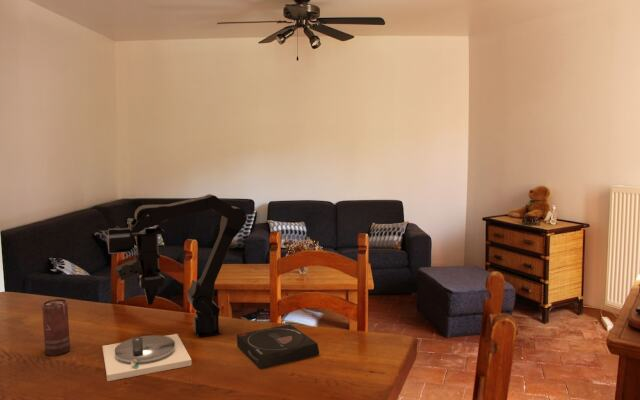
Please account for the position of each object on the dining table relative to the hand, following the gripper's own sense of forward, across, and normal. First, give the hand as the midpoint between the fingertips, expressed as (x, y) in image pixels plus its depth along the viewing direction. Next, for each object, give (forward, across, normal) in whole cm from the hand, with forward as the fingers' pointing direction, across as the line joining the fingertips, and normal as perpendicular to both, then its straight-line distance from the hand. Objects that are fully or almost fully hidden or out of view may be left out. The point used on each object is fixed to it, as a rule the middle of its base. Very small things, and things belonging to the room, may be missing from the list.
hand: (150, 304), depth 146 cm
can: (+11, -4, -24) cm, 27 cm away
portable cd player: (+12, +22, +30) cm, 39 cm away
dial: (+9, +12, -3) cm, 15 cm away
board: (+11, +11, -3) cm, 16 cm away
